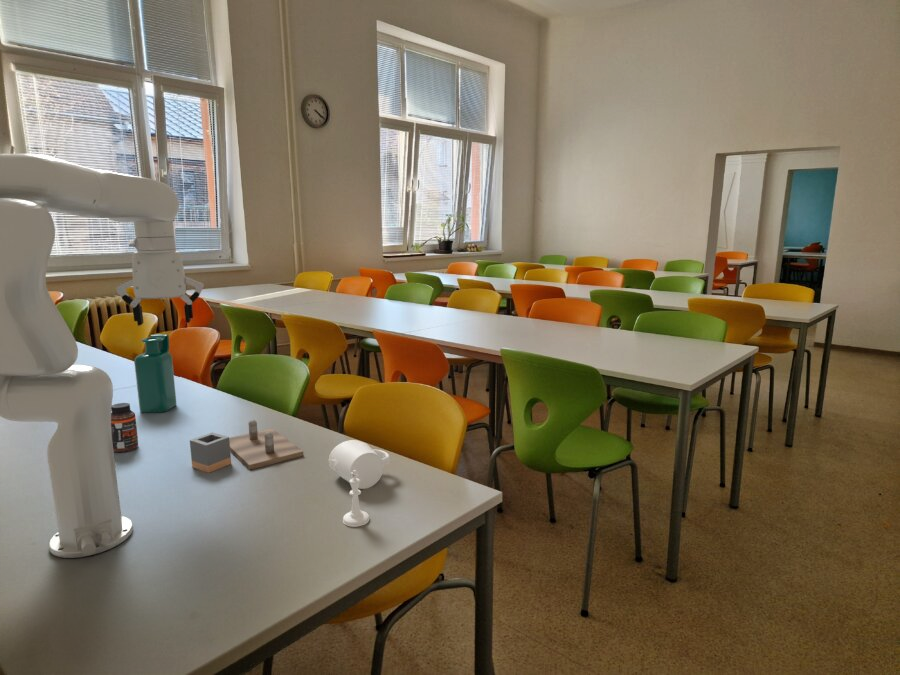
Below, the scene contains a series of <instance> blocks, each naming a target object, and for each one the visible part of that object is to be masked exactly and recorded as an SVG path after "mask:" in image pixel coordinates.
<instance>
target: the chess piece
mask: <svg viewBox="0 0 900 675" xmlns="http://www.w3.org/2000/svg"><path fill="white" fill-rule="evenodd" d="M351 475H352V476H353V479H351V480H350V481H349V482H348V484H349V485H350V487H351V490H350V491H349V496H352V500H351V510H350V511H348V512H346V513H345V514H344V515H343V518H342V523H343V524H344V525H345V526H348V527H351V528H355V527H356V528H357V527H361V526H364V525H365V526H366V524H368V523H369V521H370V515H369V514H368V512H366V511H365V510H361V507H360V500H359V495H361V494H362V491H361V489H359V488H358V487H359V484H360V479H358V478H357V477H358V474H356V470H353V472H352V473H351Z"/></svg>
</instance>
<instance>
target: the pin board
mask: <svg viewBox="0 0 900 675" xmlns="http://www.w3.org/2000/svg"><path fill="white" fill-rule="evenodd" d="M229 442H230V454H231V453H232V455H234V457H235V458H236V459H237V460H239V461H240V462H241V463H242V464H243V465H244V466H245V467H246V468H247V469H248V470H249V471H250V470H255V469H258V468H262V467H266V466H269V465H274V464H278V463H281V462H286V461H289V460H293V459H297V458H301V457H304V450H303V449H301V448H299V447H298V446H297V445H295V444H294V443H293V442H291V440H289V439H287V438H286V437H285V436H283V435H282V434H281V433H279V432H278V431H276V430H275V429H273V428H267V429H264V430H263V429H262V430H258V422H257V421H256V420H255V419H250V420H249V421H248V433H245V434H240V435H235V436H231V437H229Z"/></svg>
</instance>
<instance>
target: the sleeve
mask: <svg viewBox="0 0 900 675" xmlns="http://www.w3.org/2000/svg"><path fill="white" fill-rule="evenodd" d="M229 438H230V436H226V435H223V434H220V433H217V432H214V431H212V432H209V433H207V434H204V435H201V436H198V437H196V438H192V439H190V440H189V446H190V458H191V467H192V468H194V469H197V470H200V471H202V472H205V473H207V474H209V473H211V472H214V471H216V470H219V469H221V468H223V467H226V466H229V465H231V464H232V457H231V452H230V442H229Z"/></svg>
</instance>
